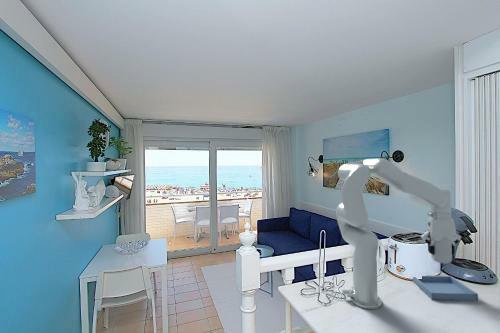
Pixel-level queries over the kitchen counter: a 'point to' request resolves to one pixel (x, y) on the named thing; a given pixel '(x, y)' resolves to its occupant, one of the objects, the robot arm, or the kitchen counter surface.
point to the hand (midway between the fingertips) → (441, 253)
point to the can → (442, 251)
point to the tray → (445, 288)
